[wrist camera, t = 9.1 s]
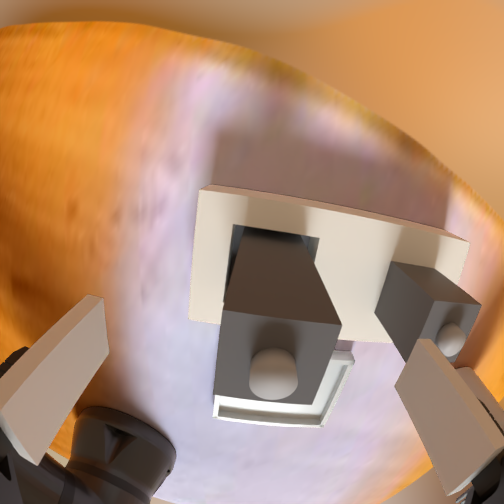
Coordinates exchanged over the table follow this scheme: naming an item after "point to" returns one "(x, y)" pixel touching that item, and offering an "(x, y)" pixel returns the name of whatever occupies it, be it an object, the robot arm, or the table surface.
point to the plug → (275, 322)
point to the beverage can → (482, 393)
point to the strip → (343, 266)
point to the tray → (291, 412)
